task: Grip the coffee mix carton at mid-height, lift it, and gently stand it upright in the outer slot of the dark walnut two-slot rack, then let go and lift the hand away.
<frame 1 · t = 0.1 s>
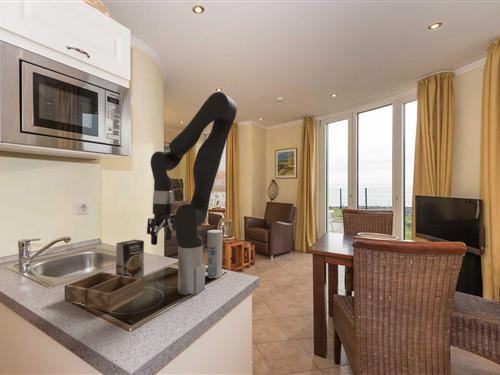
hand: (161, 242, 98), 17 cm above the counter, tool pointing down, fingers open, 8 cm apart
rack: (105, 297, 87), on the counter
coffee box: (130, 279, 104), on the counter
spray can: (214, 276, 108), on the counter
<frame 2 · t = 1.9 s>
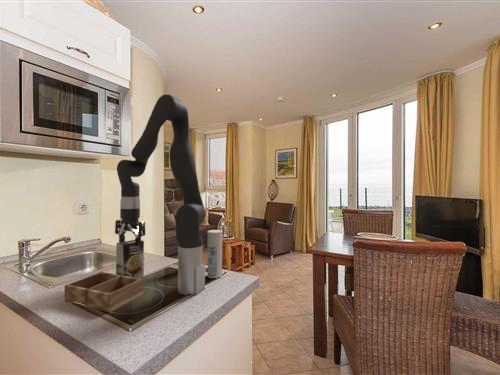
hand: (129, 245, 103), 15 cm above the counter, tool pointing down, fingers open, 8 cm apart
nothing on the counter moved.
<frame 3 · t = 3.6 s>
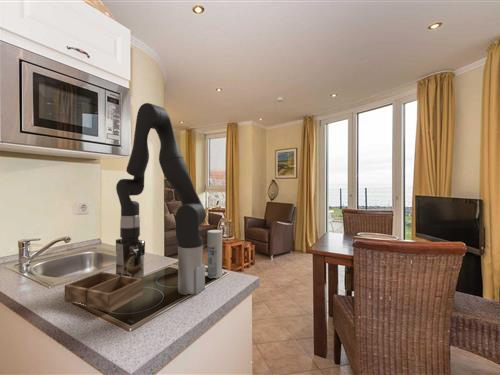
hand: (130, 264, 104), 6 cm above the counter, tool pointing down, fingers closed on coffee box, 7 cm apart
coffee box: (130, 279, 104), on the counter, touching gripper
everything else where it was.
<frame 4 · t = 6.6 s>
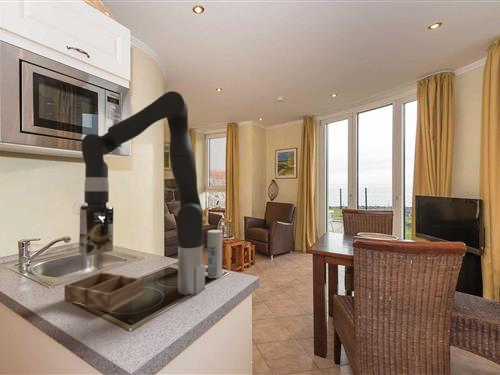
hand: (96, 234, 89), 22 cm above the counter, tool pointing down, fingers closed on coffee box, 7 cm apart
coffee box: (96, 252, 89), point 15 cm above the counter, touching gripper
everything else where it was.
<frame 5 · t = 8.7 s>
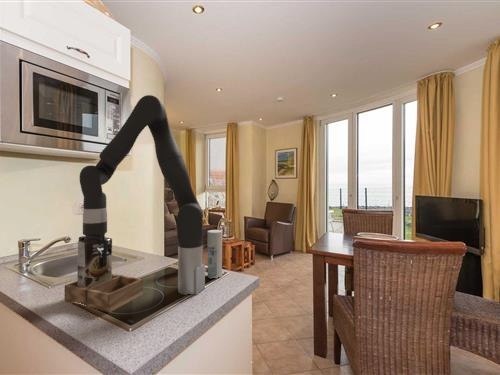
hand: (95, 265, 88), 11 cm above the counter, tool pointing down, fingers closed on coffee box, 7 cm apart
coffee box: (95, 283, 88), point 4 cm above the counter, touching gripper
everything else where it was.
when the fingers open (9 cm above the counter, at t = 10.1 s): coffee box drops 2 cm, resting on rack.
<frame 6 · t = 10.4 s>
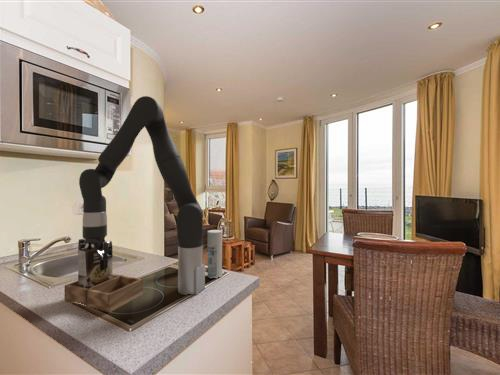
hand: (95, 268, 88), 10 cm above the counter, tool pointing down, fingers open, 8 cm apart
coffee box: (95, 292, 88), point 1 cm above the counter, touching rack
everything else where it was.
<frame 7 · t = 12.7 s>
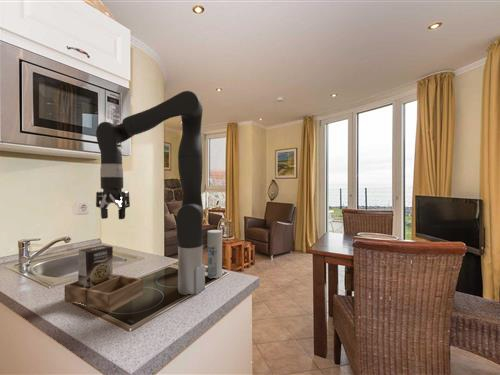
hand: (113, 218, 93), 27 cm above the counter, tool pointing down, fingers open, 8 cm apart
nothing on the counter moved.
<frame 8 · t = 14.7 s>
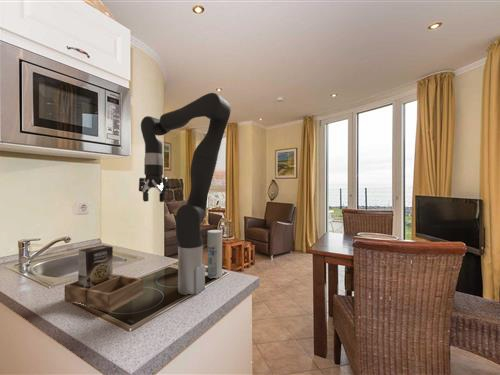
hand: (153, 201, 105), 33 cm above the counter, tool pointing down, fingers open, 8 cm apart
nothing on the counter moved.
at the end: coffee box 0.3 cm from the target spot on the rack, point 1.0 cm above the rack's base; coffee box tilted 0°; the gripper is holding nothing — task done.
